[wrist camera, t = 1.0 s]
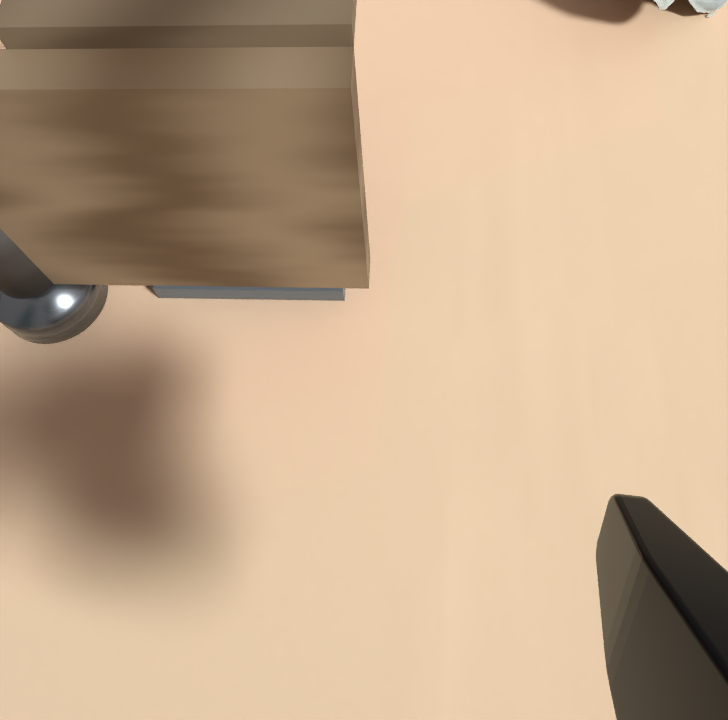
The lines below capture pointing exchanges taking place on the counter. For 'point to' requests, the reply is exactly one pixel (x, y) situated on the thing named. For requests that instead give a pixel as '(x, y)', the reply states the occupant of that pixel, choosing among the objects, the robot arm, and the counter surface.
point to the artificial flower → (696, 5)
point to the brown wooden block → (180, 145)
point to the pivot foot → (53, 312)
